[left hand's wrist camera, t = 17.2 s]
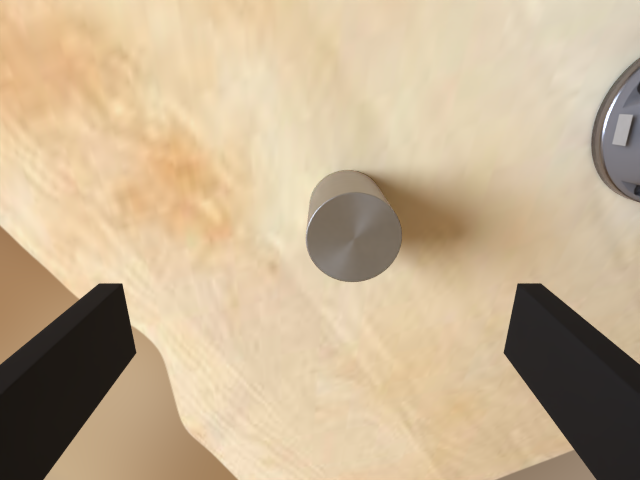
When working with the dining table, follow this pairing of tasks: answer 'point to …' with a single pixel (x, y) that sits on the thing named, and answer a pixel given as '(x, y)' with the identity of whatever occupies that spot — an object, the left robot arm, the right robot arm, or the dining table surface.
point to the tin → (351, 227)
